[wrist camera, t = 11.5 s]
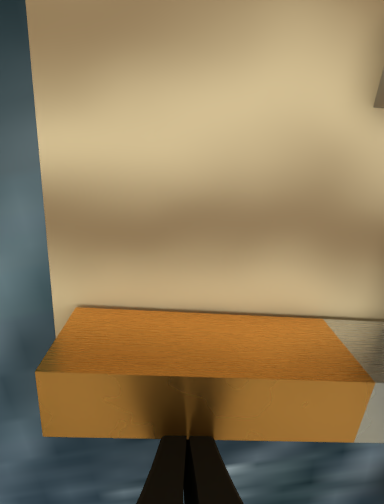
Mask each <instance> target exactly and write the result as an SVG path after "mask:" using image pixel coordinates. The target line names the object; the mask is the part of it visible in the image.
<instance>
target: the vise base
mask: <svg viewBox="0 0 384 504" xmlns="http://www.w3.org/2000/svg"><path fill="white" fill-rule="evenodd" d="M26 11H27V22H28V33H29V44H30V55H31V66H32V78H33V89H34V100H35V111H36V122H37V133H38V144H39V156H40V167H41V178H42V189H43V200H44V211H45V222H46V234H47V245H48V256H49V267H50V278H51V289H52V300H53V312H54V323H55V334H56V338H57V336H58V335H59V333H60V331H61V330H62V328H63V327H64V325H65V324H66V322H67V320H68V319H69V317H70V316H71V314H72V312H73V311H74V309H75V308H76V307H80V308H102V309H123V310H144V311H165V312H186V313H208V314H229V315H250V316H271V317H292V318H313V319H335V320H356V321H377V322H384V0H26Z"/></svg>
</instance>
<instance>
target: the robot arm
mask: <svg viewBox="0 0 384 504" xmlns="http://www.w3.org/2000/svg"><path fill="white" fill-rule="evenodd" d="M183 489H184V502H185V504H243V502H242V500H241V498H240V496H239V494H238V492H237V490H236V488H235V486H234V484H233V482H232V480H231V478H230V476H229V473H228V471H227V469H226V467H225V464H224V462H223V460H222V458H221V455H220V453H219V451H218V448H217V446H216V443H215V440H214V438H213V437H211V436H189V439H187V436H167V435H165V436H163V437H162V438H161V440H160V444H159V447H158V450H157V453H156V456H155V459H154V462H153V464H152V467H151V470H150V472H149V475H148V477H147V480H146V482H145V485H144V487H143V490H142V492H141V494H140V497H139V499H138V501H137V503H136V504H183Z"/></svg>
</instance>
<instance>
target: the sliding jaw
mask: <svg viewBox="0 0 384 504" xmlns="http://www.w3.org/2000/svg"><path fill="white" fill-rule="evenodd" d="M35 376H36V384H37V392H38V400H39V408H40V417H41V425H42V433H43V437H91V438H144V439H161V438H162V437H163V436H165V435H167V436H187V439H189V436H211V437H213V438H214V440H249V441H302V442H355V443H384V322H377V321H356V320H335V319H313V318H292V317H271V316H250V315H229V314H208V313H186V312H165V311H144V310H123V309H102V308H80V307H76V308H75V309H74V311H73V312H72V314H71V316H70V317H69V319H68V320H67V322H66V324H65V325H64V327H63V328H62V330H61V331H60V333H59V335H58V336H57V338H56V339H55V341H54V342H53V344H52V346H51V347H50V349H49V350H48V352H47V353H46V355H45V357H44V358H43V360H42V361H41V363H40V364H39V366H38V368H37V369H36V371H35Z"/></svg>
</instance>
